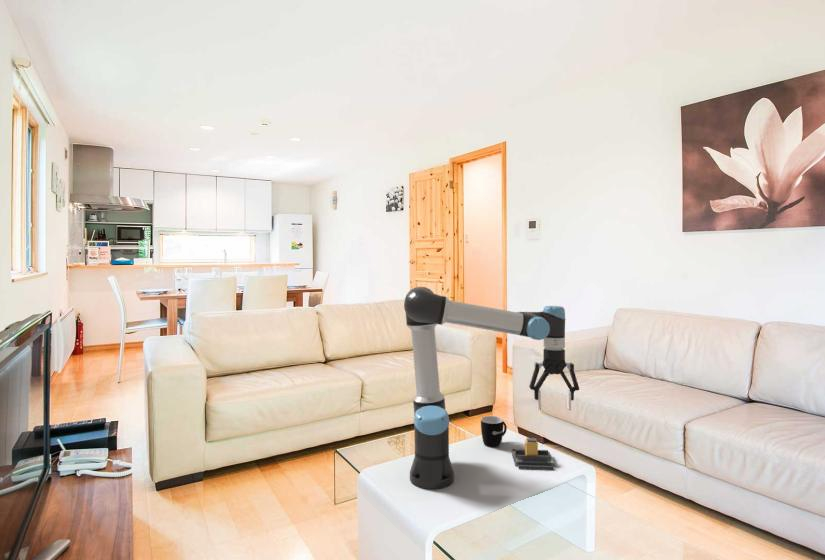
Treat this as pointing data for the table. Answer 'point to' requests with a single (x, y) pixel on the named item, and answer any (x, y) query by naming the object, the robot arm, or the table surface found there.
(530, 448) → the toggle
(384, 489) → the table surface
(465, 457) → the table surface
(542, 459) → the panel
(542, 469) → the dark grey long bar
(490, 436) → the mug
